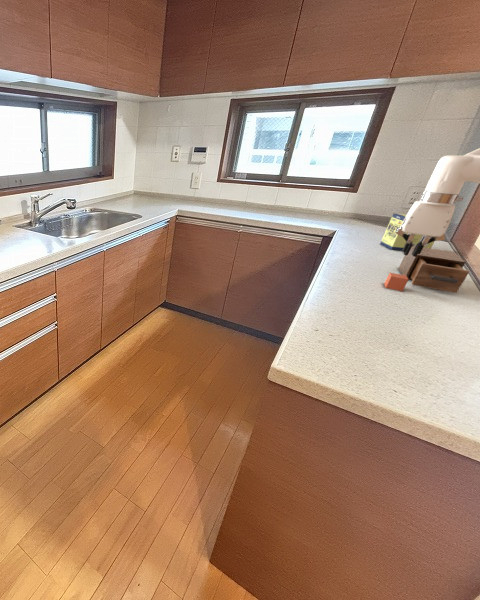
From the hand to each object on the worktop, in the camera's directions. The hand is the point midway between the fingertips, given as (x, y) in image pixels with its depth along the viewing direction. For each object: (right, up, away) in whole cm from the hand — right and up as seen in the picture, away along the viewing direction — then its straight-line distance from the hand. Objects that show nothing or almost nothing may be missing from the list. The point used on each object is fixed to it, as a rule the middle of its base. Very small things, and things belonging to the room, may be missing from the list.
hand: (409, 254), depth 109 cm
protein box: (+48, +10, +50) cm, 70 cm away
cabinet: (+21, -7, +15) cm, 27 cm away
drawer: (+14, -10, +6) cm, 18 cm away
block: (0, -11, +5) cm, 12 cm away
